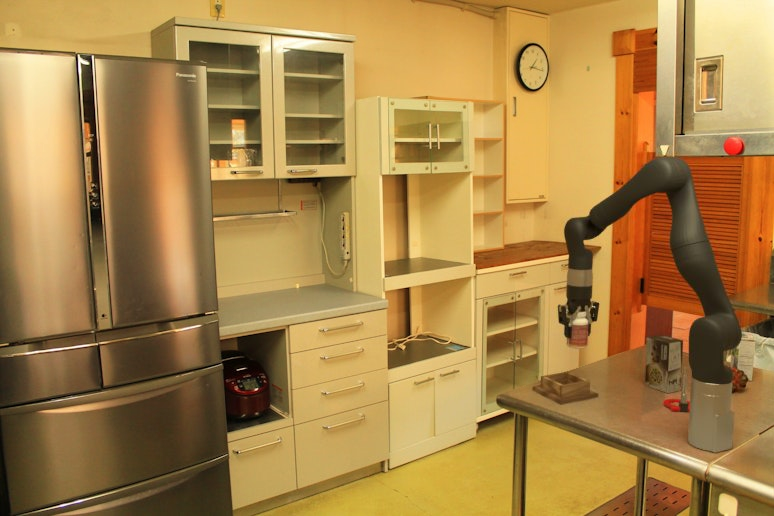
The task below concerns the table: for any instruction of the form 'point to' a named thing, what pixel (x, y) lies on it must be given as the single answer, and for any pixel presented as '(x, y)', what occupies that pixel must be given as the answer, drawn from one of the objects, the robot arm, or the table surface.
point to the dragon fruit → (738, 379)
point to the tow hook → (683, 403)
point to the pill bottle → (579, 332)
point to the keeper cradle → (565, 388)
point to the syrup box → (744, 355)
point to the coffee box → (664, 363)
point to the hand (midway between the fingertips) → (577, 336)
